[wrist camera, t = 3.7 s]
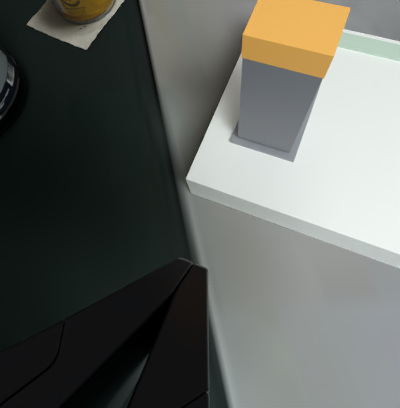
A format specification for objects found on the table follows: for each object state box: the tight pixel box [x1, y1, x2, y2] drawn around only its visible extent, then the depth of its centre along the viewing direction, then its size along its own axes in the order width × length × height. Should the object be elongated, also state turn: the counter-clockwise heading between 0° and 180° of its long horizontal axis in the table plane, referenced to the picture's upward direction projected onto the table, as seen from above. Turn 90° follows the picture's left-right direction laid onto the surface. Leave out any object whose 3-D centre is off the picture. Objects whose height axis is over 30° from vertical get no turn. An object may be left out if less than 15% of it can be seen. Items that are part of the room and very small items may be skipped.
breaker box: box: [186, 29, 400, 269], centre depth 20 cm, size 15×23×3 cm, turn 68°
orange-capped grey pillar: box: [238, 0, 351, 153], centre depth 15 cm, size 2×4×8 cm, turn 68°
